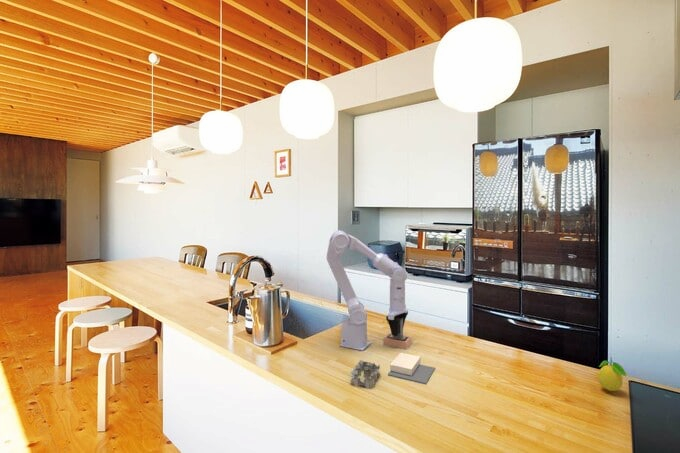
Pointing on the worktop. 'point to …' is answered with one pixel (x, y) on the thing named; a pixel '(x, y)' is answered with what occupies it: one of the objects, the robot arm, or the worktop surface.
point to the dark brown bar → (399, 333)
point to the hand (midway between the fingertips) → (397, 332)
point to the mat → (416, 374)
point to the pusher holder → (396, 342)
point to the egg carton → (365, 374)
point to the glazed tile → (405, 364)
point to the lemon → (611, 376)
